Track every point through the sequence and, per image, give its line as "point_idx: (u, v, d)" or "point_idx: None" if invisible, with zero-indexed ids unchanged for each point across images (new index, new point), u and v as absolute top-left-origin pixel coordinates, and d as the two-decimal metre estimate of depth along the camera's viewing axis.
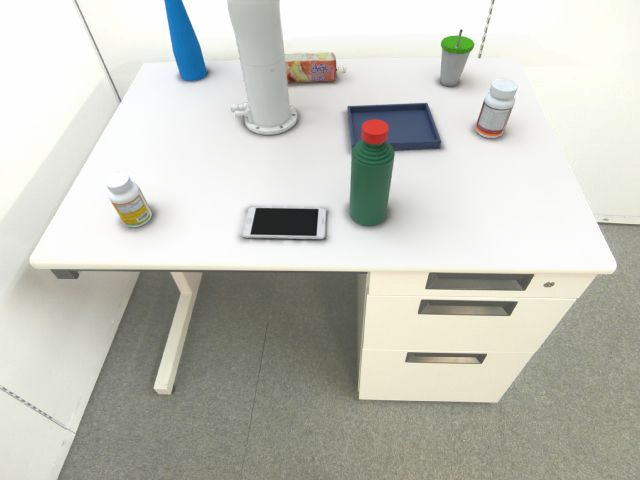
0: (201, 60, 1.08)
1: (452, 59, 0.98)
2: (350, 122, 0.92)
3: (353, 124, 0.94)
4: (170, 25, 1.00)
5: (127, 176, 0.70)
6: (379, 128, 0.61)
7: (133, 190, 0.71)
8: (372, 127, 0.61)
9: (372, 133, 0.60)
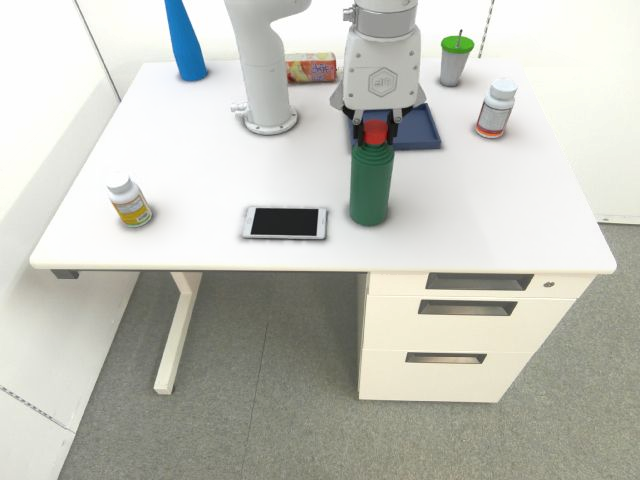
0: (201, 60, 1.08)
1: (452, 59, 0.98)
2: (350, 122, 0.92)
3: None
4: (170, 25, 1.00)
5: (127, 176, 0.70)
6: (379, 128, 0.61)
7: (133, 190, 0.71)
8: (372, 127, 0.61)
9: (372, 133, 0.60)
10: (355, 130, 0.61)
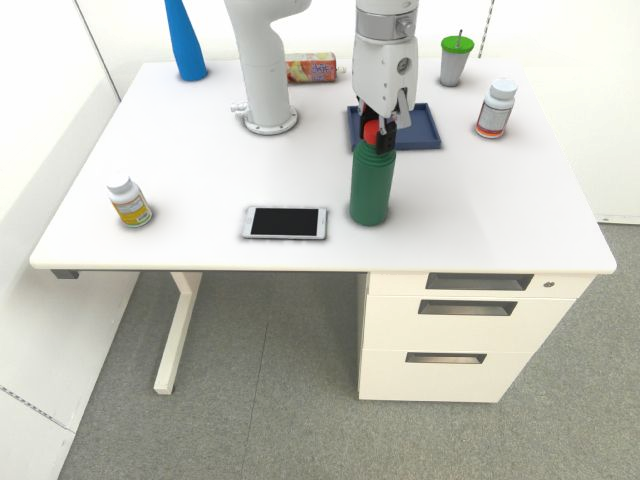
0: (201, 60, 1.08)
1: (452, 59, 0.98)
2: (350, 122, 0.92)
3: (353, 124, 0.94)
4: (170, 25, 1.00)
5: (127, 176, 0.70)
6: (378, 124, 0.62)
7: (133, 190, 0.71)
8: None
9: None
10: None
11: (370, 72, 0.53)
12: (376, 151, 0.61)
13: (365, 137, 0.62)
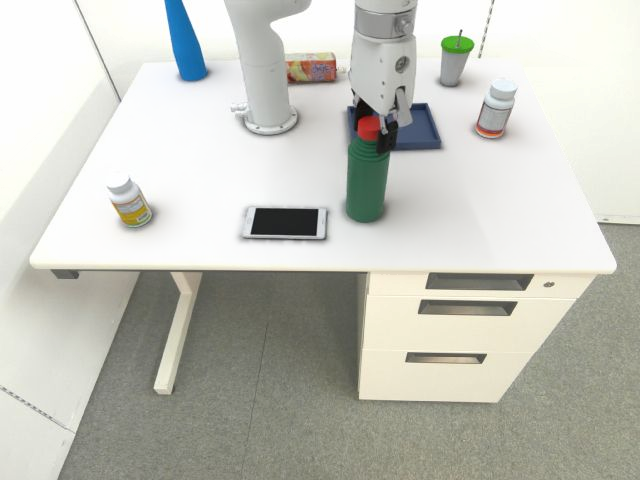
0: (201, 60, 1.08)
1: (452, 59, 0.98)
2: (350, 122, 0.92)
3: (353, 124, 0.94)
4: (170, 25, 1.00)
5: (127, 176, 0.70)
6: (371, 120, 0.62)
7: (133, 190, 0.71)
8: (373, 124, 0.62)
9: None
10: None
11: (369, 70, 0.53)
12: (377, 150, 0.60)
13: (359, 133, 0.62)
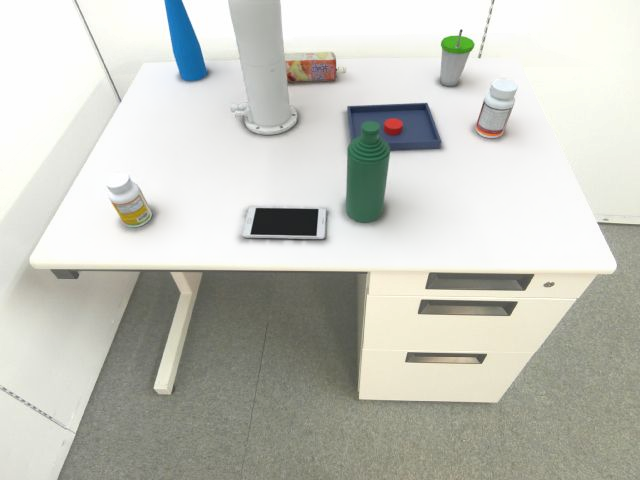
0: (201, 60, 1.08)
1: (452, 59, 0.98)
2: (350, 122, 0.92)
3: (353, 124, 0.94)
4: (170, 25, 1.00)
5: (127, 176, 0.70)
6: (391, 122, 0.91)
7: (133, 190, 0.71)
8: (395, 123, 0.90)
9: (396, 119, 0.91)
10: None
11: None
12: None
13: (392, 133, 0.90)
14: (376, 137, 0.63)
